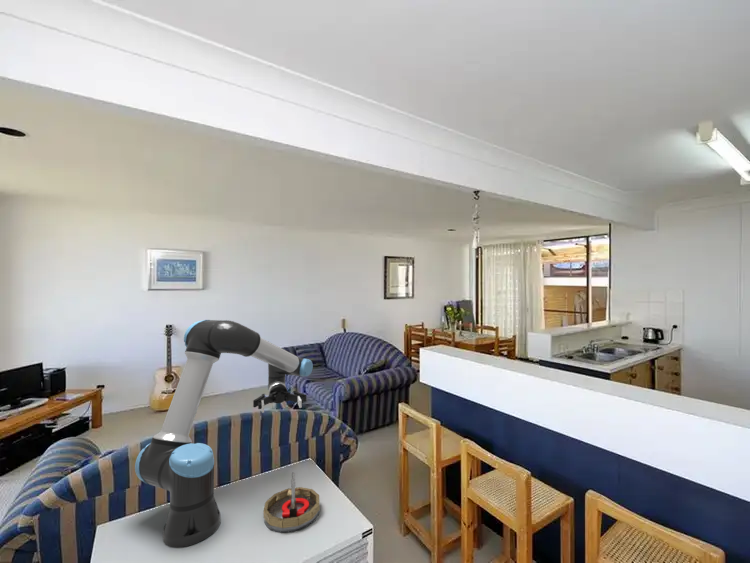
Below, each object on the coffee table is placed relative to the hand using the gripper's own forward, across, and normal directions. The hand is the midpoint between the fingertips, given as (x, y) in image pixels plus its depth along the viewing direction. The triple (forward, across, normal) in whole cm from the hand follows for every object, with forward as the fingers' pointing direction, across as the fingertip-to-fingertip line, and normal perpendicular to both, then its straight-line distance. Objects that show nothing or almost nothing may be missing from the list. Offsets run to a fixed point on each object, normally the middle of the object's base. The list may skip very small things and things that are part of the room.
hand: (282, 406), depth 126 cm
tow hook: (+19, -3, -27) cm, 33 cm away
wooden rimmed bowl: (+19, -2, -28) cm, 34 cm away
